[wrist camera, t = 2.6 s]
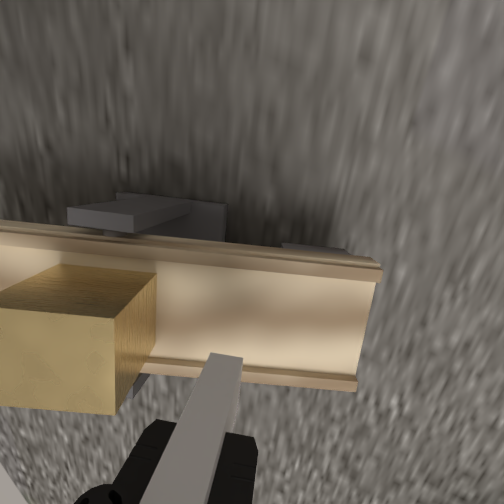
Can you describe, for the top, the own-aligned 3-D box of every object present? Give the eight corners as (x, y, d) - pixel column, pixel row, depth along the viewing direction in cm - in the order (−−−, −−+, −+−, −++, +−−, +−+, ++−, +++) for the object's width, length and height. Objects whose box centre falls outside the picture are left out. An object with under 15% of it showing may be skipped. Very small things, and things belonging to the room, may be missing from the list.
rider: (59, 263, 18) (-30, 305, 13) (157, 273, 19) (114, 318, 13) (63, 336, 20) (-16, 404, 14) (155, 344, 20) (115, 415, 14)
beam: (-75, 195, 23) (-230, 206, 16) (351, 239, 24) (396, 269, 16) (-56, 310, 25) (-182, 366, 18) (330, 346, 26) (361, 414, 19)
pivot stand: (124, 191, 28) (18, 201, 17) (227, 203, 27) (185, 222, 16) (125, 309, 32) (35, 380, 20) (217, 323, 31) (176, 407, 20)
